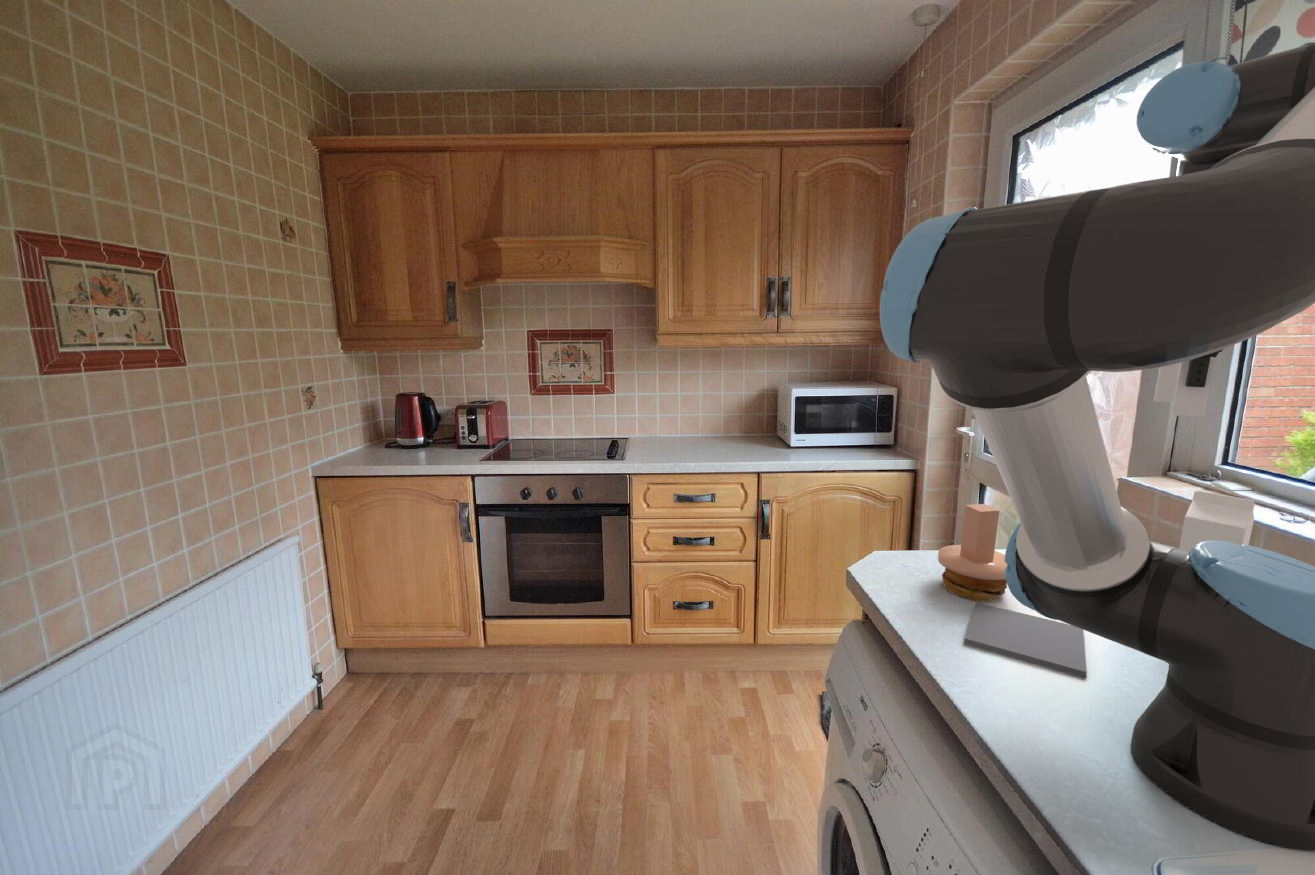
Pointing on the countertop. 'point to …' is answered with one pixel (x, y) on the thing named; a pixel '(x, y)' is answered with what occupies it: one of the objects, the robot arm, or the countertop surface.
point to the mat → (1028, 638)
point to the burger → (973, 586)
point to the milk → (1217, 520)
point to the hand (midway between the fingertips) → (1176, 408)
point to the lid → (976, 546)
